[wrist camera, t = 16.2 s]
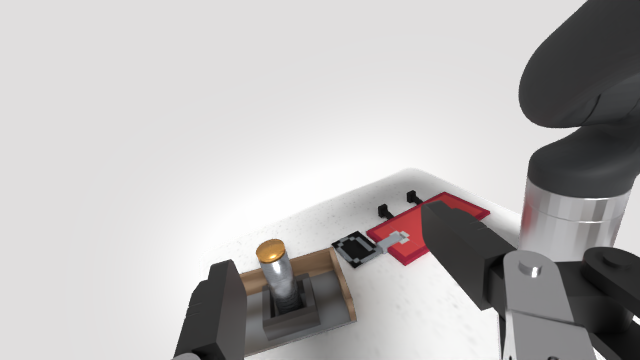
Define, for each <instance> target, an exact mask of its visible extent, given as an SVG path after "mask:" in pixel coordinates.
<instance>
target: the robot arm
mask: <svg viewBox="0 0 640 360" xmlns="http://www.w3.org/2000/svg"><path fill="white" fill-rule="evenodd" d="M519 103H520V107H521V109H522V111H523V113H524V114H525V116H526V117H527V118H528V119H529V120H530V121H531V122H533V123H535V124H537V125H539V126H543V127H547V128H571V127H580V126H582V127H580V128H579V129H578V130H576V131H575V132H573V133H572V134H570V135H568V136H567V137H565V138H563V139H561V140H558V141H556V142H553V143H551V144H549V145H546V146H544V147H542V148H540V149H538V150H537V151H536V152H535V153H533V155H532V156H531V158H530V161H529V166H528V173H527V181H526V188H525V197H524V205H523V212H522V219H521V226H520V234H519V241H518V248H517V249H516V248H514V247H513V246H512V245H510V244H509V243H508V242H507V241H505V240H504V239H503V238H501V237H500V236H499V235H497V234H496V233H495V232H493V231H492V230H491V229H489V228H487V227H486V225H484V224H483V223H482V222H479V221H478V219H476V218H475V217H474V216H472V215H471V214H470V213H468V212H466V211H463V210H461V209H458V208H453V209H451V208H450V207H449V206H448V205H447V204H445V203H444V202H443V201H441V200H437V201H433V202H430V203H426V204H423V205H422V206H421V224H422V237H423V240H424V243H425V245H426V247H427V248H428V249H429V250H430V252H431V253H432V254H433V255H434V256H435V258H436V259H437V260H438V261H439V262H440V263H441V265H442V266H443V267H444V268H445V269H446V270H447V272H448V273H449V274H450V275H451V276H452V277H453V279H454V280H455V281H456V282H457V283H458V284H459V286H460V287H461V288H462V289H463V290H464V291H465V293H466V294H467V295H468V296H469V297H470V298H471V300H472V301H473V302H474V303H475V304H476V305H477V307H478V308H479V309H480V310H481V311H482V310H485V309H488V308H491V307H493V308H494V309H495V310H496V311H497V312H498V315H497V324H498V342H499V360H596V357H595V353H594V350H593V347H594V348H595V349H596V350H597V351H598V352H599V353H600V354H601V355H602V356H603V357H604V358H605V359H606V360H640V325H638V324H637V323H636V322H635V321H633V320H632V319H633V316H634V315H636V316H637V317H638V318H640V257H638V256H636V255H634V254H632V253H629V252H627V251H624V250H621V249H617V248H613V245H614V242H615V239H616V236H617V233H618V230H619V227H620V224H621V220H622V217H623V215H624V211H625V208H626V205H627V202H628V198H629V195H630V192H631V189H632V186H633V183H634V180H635V178H636V176H637V175H639V174H640V0H588V1H587V2H585V3H584V4H583V5H582V6H581V7H580V8H579V9H578V10H577V11H576V12H575V13H574V14H573V15H572V16H570V17H569V18H568V19H567V20H566V21H565V22H564V23H563V24H562V25H561V26H560V27H559V28H558V29H556V30H555V31H554V32H553V33H552V34H551V35H550V36H549V37H548V38H547V39H546V40H545V41H544V42H543V43H542V44H541V45H540V46H539V47H538V48H537V50H536V51H535V52H534V54H533V55H532V57H531V58H530V60H529V62H528V64H527V65H526V67H525V69H524V72H523V74H522V77H521V81H520V85H519ZM246 317H247V294H246V290H245V287H244V284H243V282H242V280H241V278H240V275H239V273H238V271H237V269H236V266H235V264H234V262H233V261H232V260H231V259H230V260H226V261H223V262H220V263H216V264H213V265H211V267H210V271H209V276H208V280H204V281H201V282H200V283H199V285H198V286H197V287H196V289H195V290H194V291H193V293H192V296H191V299H190V302H189V308H188V309H187V313H186V318H185V320H184V323H183V327H182V330H181V333H180V337H179V340H178V344H177V347H176V350H175V354H174V357H173V359H172V360H244V351H245V334H246ZM592 346H593V347H592Z"/></svg>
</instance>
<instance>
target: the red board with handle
mask: <svg viewBox="0 0 640 360" xmlns="http://www.w3.org/2000/svg"><path fill="white" fill-rule="evenodd" d="M437 200H441V201H443V202H444V203H445V204H447V205H448V206H449V207H450V208H451V209H453V208H458V209H461V210H463V211H466V212H468V213H470V214H471V215H472V216H474V217H475V218H476V219H478V221H479V220H481V219H482V218H484V217H486V216H487V215H489V214H490V211H488V210H486V209H483V208H481V207H479V206H476V205H474V204H472V203H470V202H467V201H465V200H463V199H460V198H458V197H456V196H453V195H451V194H449V193H447V192H442V193H440V194H438V195H436V196H434V197H433V198H431V199H429V200H427V201H425V202H423V201H422V200H420V199H419V198H418V197H417V196H416V191H414V190H412V191H410V192H408V193H407V202H409V203H411V202H413V201H414V202H415V203H416V204H417V206H415V207H413V208H411V209H409V210H407V211H405V212H403V213H401V214H399V215H397V216H395V217H394V216H393V215H392V214H391V213H390V212H389V211H388V209H387V205H386V204H383V205H381V206H379V207H378V214H379V217H381V218H382V217H384V216H385V217H387V218H388V219H389V220H388V221H386V222H384V223H382V224H380V225H378V226H376V227H374V228H372V229H370V230H368V231H366V233H367V236H369V237H370V238H371V239H372V240H374V241H375V242H376V243H377V246H375V245H374V244H373V243H372V242H371V241H369V240H368V239H367V238H366V237H365V236H363V235H362V234H361V233H360V232H359V231H356V232H354V233H352V234H350V235H348V236H346V237H344V238H342V239H340V240H338V241H336V242H334V243H332V245H333V246H334V248H335V249H336V250H337V251H338V252H339V253H340V254H341V255H342V256H343V257H344V258H345V259H346V260H347V261H348V262H349V263H350V264H351V265H352V266H353V267H354V268H356V267H358V266H359V265H361V264H363V263H365V262H367V261H368V260H370V259H372V258H374V257H376V256H377V255H379V254H381V253H383V254H385V253H387V252H388V253H390V254H391V255H392V256H393V257H395V258H396V259H397V260H398V261H399V262H401V263H402V264H403V265H405V266H406V265H408V264H409V263H411V262H413V261H414V260H416V259H417V258H419V257H421V256H422V255H424V254H426V253H427V252H429V251H430V250H429V249H428V248H427V247H426V245H425V243H424V240H423V237H422V224H421V206H422V205H423V204H426V203H430V202H433V201H437ZM402 238H403V239H402Z"/></svg>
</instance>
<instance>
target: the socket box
mask: <svg viewBox="0 0 640 360" xmlns="http://www.w3.org/2000/svg"><path fill="white" fill-rule="evenodd" d="M289 261H290V264H291V267H292V271H293V274H294V277H295V280H296V283H297V286H298V289H299V292H300V295H301V298H302V301H303V304H304V307H305V308H302V309H299V310H296V311H292V312H289V313H286V314H283V315H280V314H279V311H278V309H277V306H276V303H275V301H274V298H273V296H272V293H271V291H270V288H269V286H268V283H267V280H266V278H265V275H264V273H263V270H262V268H259V269H256V270H252V271H249V272H246V273H242V274H239V275H240V278H241V280H242V282H243V284H244V287H245V290H246V294H247V317H246V334H245V351H244V357H247V356H250V355H254V354H257V353H260V352H263V351H266V350H269V349H272V348H275V347H278V346H281V345H285V344H288V343H291V342H294V341H297V340H300V339H303V338H306V337H309V336H313V335H316V334H319V333H322V332H325V331H328V330H331V329H334V328H337V327H340V326H344V325H347V324H350V323H353V322H356V321H357V319H356V314H355V310H354V305H353V300H352V297H351V294H350V292H349V289H348V286H347V284H346V281H345V278H344V276H343V273H342V270H341V268H340V265H339V262H338V260H337V257H336V254H335V252H334V249H333V247H330V248H327V249H324V250H320V251H317V252H313V253H310V254H307V255H303V256H300V257H296V258H293V259H290V260H289Z"/></svg>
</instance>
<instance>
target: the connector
mask: <svg viewBox="0 0 640 360" xmlns="http://www.w3.org/2000/svg"><path fill="white" fill-rule="evenodd" d="M256 255H257V257H258V260H259V262H260V265H261V268H262V270H263V273H264V275H265V278H266V280H267V283H268V286H269V288H270V291H271V293H272V296H273V298H274V301H275V303H276V306H277V309H278V311H279V314H280V315H283V314H286V313H289V312H292V311H296V310H299V309H302V308H305V307H304V304H303V301H302V298H301V295H300V292H299V289H298V286H297V283H296V280H295V277H294V274H293V271H292V267H291V264H290V261H289V258H288V255H287V252H286V249H285V246H284V243H283V242H282V241H281V240H279V239H271V240H268V241H265V242H264V243H262V244H261V245H260V246H259V247H258V248H257V250H256Z"/></svg>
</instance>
